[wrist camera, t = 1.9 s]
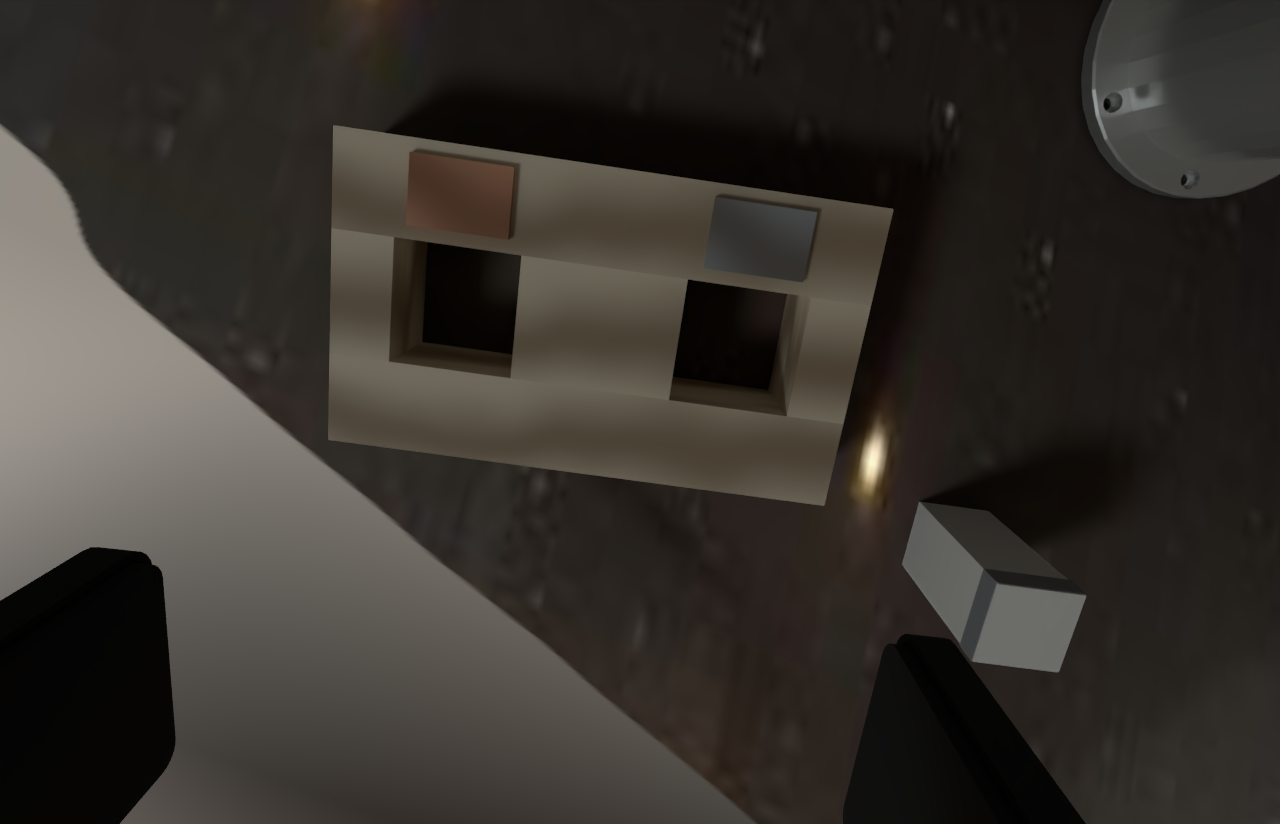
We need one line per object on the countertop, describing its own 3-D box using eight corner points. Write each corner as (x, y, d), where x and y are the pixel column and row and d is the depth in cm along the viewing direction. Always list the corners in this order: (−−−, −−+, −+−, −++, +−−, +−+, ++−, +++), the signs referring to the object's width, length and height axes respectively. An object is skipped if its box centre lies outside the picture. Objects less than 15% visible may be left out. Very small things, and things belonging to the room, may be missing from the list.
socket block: (377, 137, 34) (330, 124, 29) (858, 209, 34) (896, 209, 29) (368, 410, 37) (325, 441, 32) (801, 469, 38) (825, 508, 33)
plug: (918, 500, 39) (997, 583, 30) (989, 510, 39) (1088, 594, 30) (900, 565, 40) (972, 662, 31) (969, 574, 40) (1059, 673, 32)
